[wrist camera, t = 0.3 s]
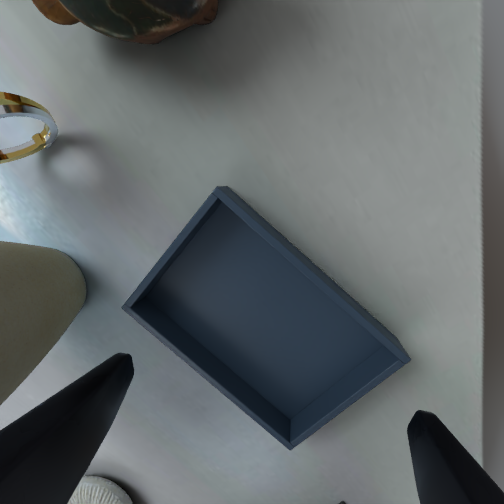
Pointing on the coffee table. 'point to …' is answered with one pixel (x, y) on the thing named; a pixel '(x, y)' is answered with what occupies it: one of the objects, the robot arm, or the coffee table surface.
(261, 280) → the tray
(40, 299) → the plant pot
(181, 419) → the coffee table surface
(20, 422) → the robot arm
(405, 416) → the coffee table surface
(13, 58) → the coffee table surface
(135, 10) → the decorative turtle
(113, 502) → the fossil
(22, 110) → the ring
